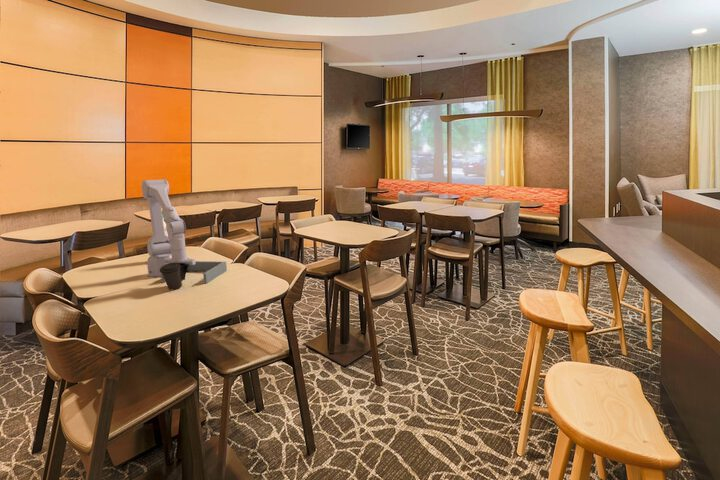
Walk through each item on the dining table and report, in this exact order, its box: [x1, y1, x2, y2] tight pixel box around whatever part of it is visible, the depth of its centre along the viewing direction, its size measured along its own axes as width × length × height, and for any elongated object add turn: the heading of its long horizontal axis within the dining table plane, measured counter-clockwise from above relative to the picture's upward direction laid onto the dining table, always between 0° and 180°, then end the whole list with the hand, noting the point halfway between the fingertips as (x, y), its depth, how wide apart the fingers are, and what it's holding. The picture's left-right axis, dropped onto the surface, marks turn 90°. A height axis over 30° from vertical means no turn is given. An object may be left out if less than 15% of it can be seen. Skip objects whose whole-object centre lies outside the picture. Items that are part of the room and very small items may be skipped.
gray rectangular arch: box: [161, 260, 228, 285], centre depth 185 cm, size 20×20×4 cm
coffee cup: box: [160, 263, 183, 291], centre depth 166 cm, size 8×8×10 cm
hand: (181, 280), depth 173 cm, fingers closed on coffee cup
